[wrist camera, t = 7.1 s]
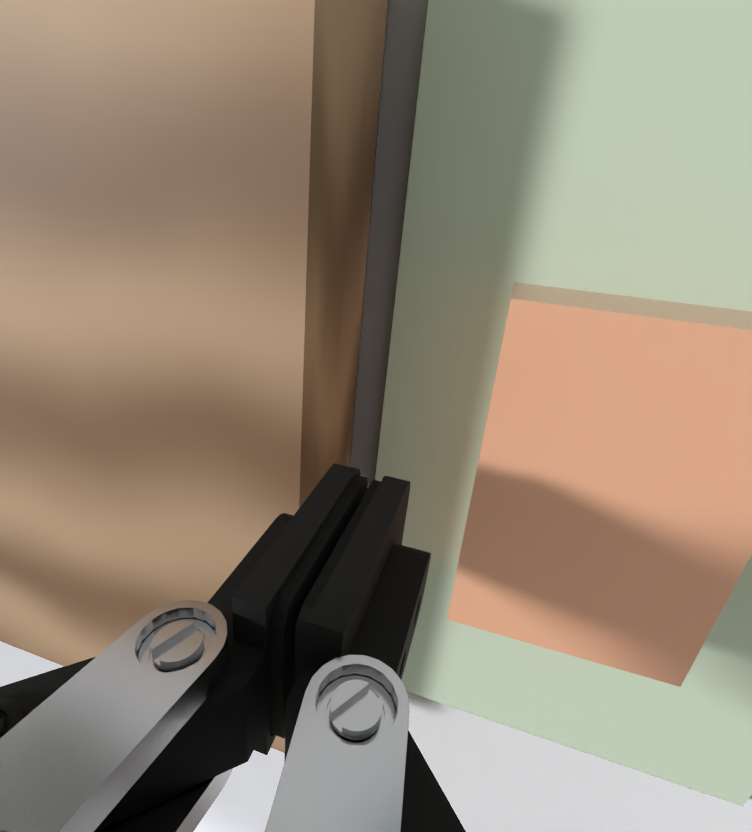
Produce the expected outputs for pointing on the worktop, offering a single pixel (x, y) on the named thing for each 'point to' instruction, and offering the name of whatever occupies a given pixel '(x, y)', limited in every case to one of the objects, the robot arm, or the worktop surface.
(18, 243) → the board
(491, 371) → the sage mat
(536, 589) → the terracotta tile
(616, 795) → the worktop surface
